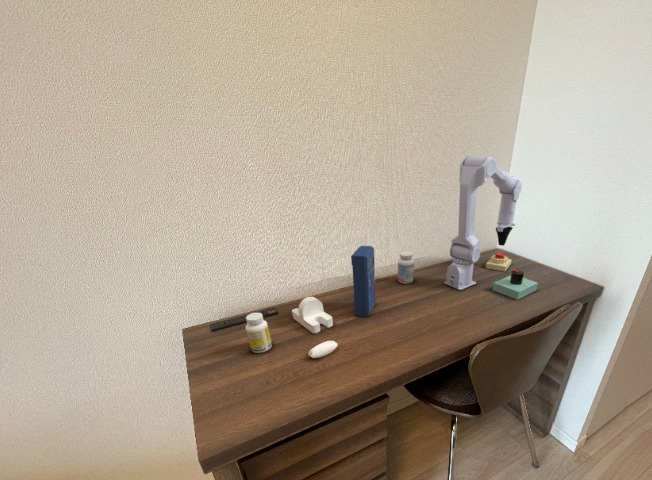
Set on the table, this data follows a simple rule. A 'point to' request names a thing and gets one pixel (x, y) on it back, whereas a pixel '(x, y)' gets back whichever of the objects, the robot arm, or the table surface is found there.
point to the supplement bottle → (258, 333)
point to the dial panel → (515, 287)
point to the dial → (516, 277)
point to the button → (499, 255)
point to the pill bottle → (405, 268)
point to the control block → (498, 263)
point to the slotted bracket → (312, 315)
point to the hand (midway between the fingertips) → (501, 244)
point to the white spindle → (323, 349)
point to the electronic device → (363, 280)
